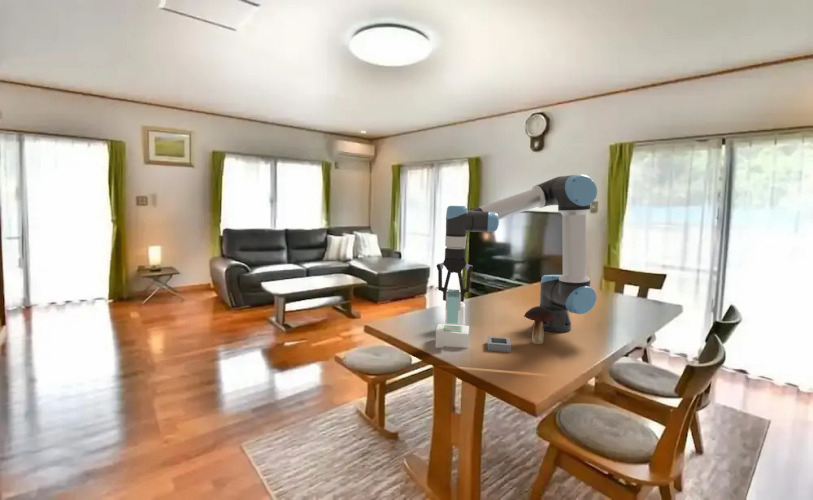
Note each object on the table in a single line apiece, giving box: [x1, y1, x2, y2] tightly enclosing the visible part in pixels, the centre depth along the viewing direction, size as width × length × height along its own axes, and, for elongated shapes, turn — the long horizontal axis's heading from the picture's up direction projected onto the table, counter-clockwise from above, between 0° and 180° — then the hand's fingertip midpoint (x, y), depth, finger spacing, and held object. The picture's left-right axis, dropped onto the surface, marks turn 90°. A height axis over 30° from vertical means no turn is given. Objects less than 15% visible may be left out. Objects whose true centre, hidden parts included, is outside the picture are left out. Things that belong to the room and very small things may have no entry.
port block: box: [435, 323, 470, 349], centre depth 151 cm, size 12×10×6 cm
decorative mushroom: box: [523, 305, 554, 345], centre depth 151 cm, size 11×11×15 cm
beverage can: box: [444, 301, 466, 326], centre depth 169 cm, size 8×8×12 cm
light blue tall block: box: [447, 288, 460, 324], centre depth 150 cm, size 4×4×12 cm
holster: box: [486, 335, 512, 353], centre depth 147 cm, size 8×8×3 cm
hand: (453, 309), depth 150 cm, fingers closed on light blue tall block, 4 cm apart
